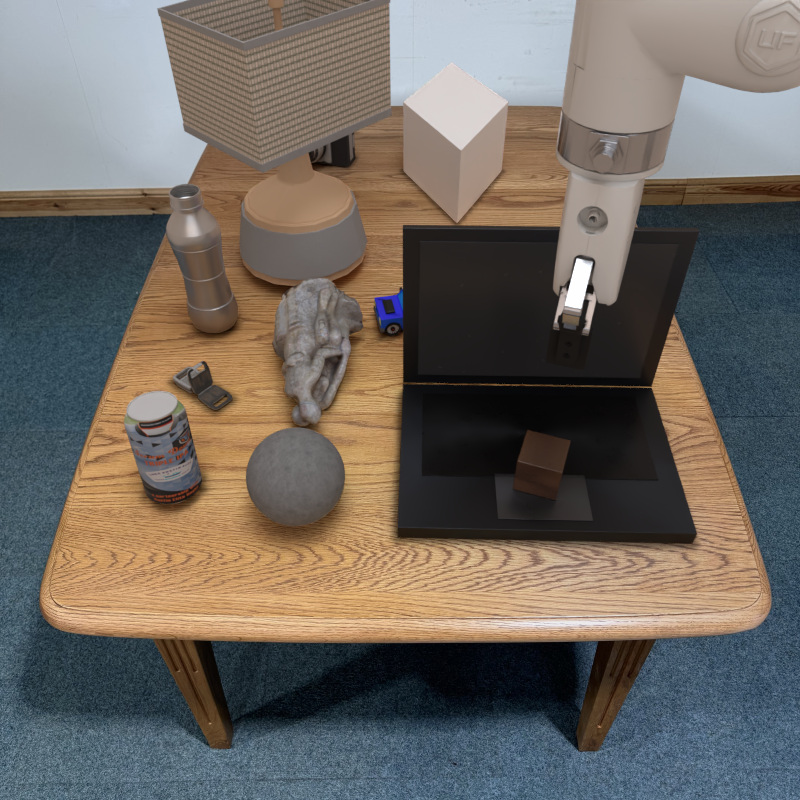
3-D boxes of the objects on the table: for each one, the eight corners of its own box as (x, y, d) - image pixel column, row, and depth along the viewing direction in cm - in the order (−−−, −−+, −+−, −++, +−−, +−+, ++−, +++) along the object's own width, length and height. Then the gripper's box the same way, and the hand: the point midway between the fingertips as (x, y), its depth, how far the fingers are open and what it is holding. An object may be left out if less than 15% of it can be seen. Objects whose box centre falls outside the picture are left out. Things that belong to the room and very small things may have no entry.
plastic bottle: (232, 341, 96) (202, 207, 82) (184, 337, 97) (146, 203, 83) (247, 312, 101) (221, 179, 87) (201, 307, 101) (167, 175, 87)
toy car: (372, 311, 101) (371, 281, 97) (456, 300, 102) (458, 271, 99) (381, 341, 96) (380, 311, 93) (468, 329, 98) (471, 300, 94)
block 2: (563, 468, 78) (570, 440, 75) (555, 500, 75) (562, 472, 72) (522, 457, 79) (527, 429, 76) (512, 489, 76) (517, 461, 73)
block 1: (493, 127, 141) (499, 62, 133) (511, 223, 117) (519, 150, 108) (403, 127, 141) (403, 62, 133) (402, 223, 117) (402, 150, 108)
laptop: (692, 543, 74) (697, 533, 72) (397, 537, 74) (397, 526, 73) (648, 398, 88) (652, 386, 87) (403, 394, 89) (402, 382, 88)
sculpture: (350, 457, 89) (254, 440, 85) (352, 343, 99) (267, 324, 95) (380, 408, 80) (275, 388, 77) (379, 290, 91) (287, 267, 87)
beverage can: (148, 518, 76) (116, 442, 68) (146, 466, 81) (116, 389, 73) (209, 505, 77) (184, 429, 69) (203, 455, 82) (180, 378, 74)
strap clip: (171, 382, 91) (163, 357, 88) (190, 369, 92) (183, 344, 89) (216, 413, 87) (209, 387, 84) (235, 399, 89) (229, 373, 86)
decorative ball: (366, 508, 77) (363, 446, 70) (290, 563, 72) (277, 502, 65) (310, 455, 82) (301, 392, 75) (235, 503, 77) (218, 441, 70)
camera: (268, 167, 130) (260, 112, 123) (286, 146, 136) (279, 93, 129) (341, 177, 127) (337, 122, 120) (356, 156, 133) (353, 102, 126)
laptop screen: (700, 231, 73) (698, 227, 73) (402, 228, 74) (402, 224, 74) (651, 387, 87) (650, 383, 88) (402, 383, 88) (403, 379, 88)
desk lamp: (290, 320, 99) (250, 36, 73) (209, 265, 109) (148, -4, 83) (400, 255, 110) (399, -12, 84) (317, 210, 120) (293, -42, 94)
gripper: (655, 206, 44) (605, 405, 56) (678, 94, 55) (632, 280, 67) (532, 187, 45) (509, 384, 58) (579, 83, 57) (552, 266, 69)
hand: (575, 328), depth 62 cm, fingers open, 9 cm apart
